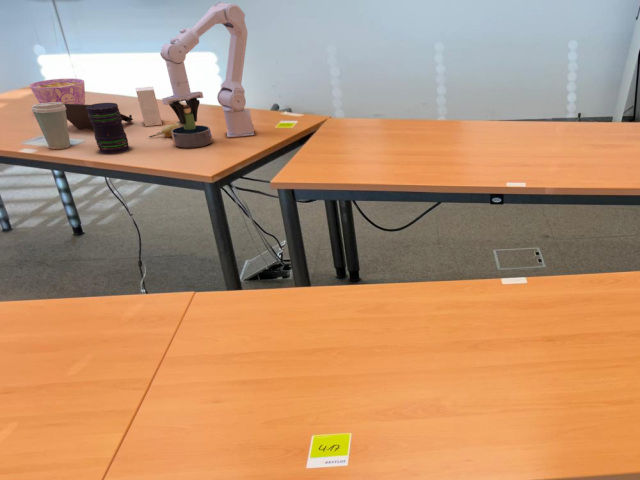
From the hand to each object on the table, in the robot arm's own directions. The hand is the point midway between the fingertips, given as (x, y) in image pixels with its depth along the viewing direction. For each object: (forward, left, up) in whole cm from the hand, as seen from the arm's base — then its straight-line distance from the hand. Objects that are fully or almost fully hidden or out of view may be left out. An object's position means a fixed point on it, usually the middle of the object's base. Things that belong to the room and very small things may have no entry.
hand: (188, 122), depth 258 cm
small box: (+14, -38, -8) cm, 41 cm away
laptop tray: (+34, -40, -8) cm, 53 cm away
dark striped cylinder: (+26, -1, -8) cm, 27 cm away
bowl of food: (+48, -72, -8) cm, 87 cm away
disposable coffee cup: (+44, -13, -8) cm, 47 cm away
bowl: (0, 0, -8) cm, 8 cm away
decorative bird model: (+8, -14, -8) cm, 18 cm away
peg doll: (0, 0, -2) cm, 2 cm away
